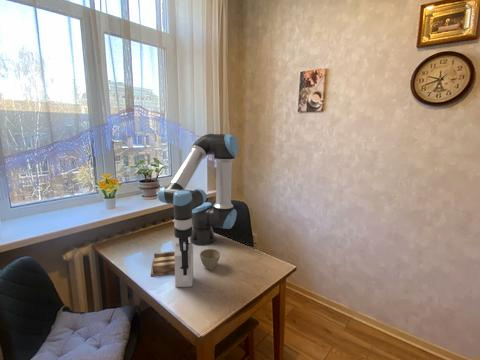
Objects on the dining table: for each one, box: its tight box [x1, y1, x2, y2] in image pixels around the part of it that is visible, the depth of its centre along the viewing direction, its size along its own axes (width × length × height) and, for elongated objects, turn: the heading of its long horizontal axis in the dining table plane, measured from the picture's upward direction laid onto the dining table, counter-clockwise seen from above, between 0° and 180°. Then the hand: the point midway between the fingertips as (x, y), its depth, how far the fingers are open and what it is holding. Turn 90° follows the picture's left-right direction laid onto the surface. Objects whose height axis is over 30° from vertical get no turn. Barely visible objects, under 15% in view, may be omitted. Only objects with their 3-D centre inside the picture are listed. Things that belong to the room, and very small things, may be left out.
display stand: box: [150, 250, 175, 277], centre depth 123 cm, size 16×14×4 cm
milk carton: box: [174, 242, 194, 288], centre depth 109 cm, size 7×7×19 cm
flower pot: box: [199, 248, 221, 270], centre depth 123 cm, size 10×10×7 cm
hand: (184, 273), depth 110 cm, fingers open, 9 cm apart
